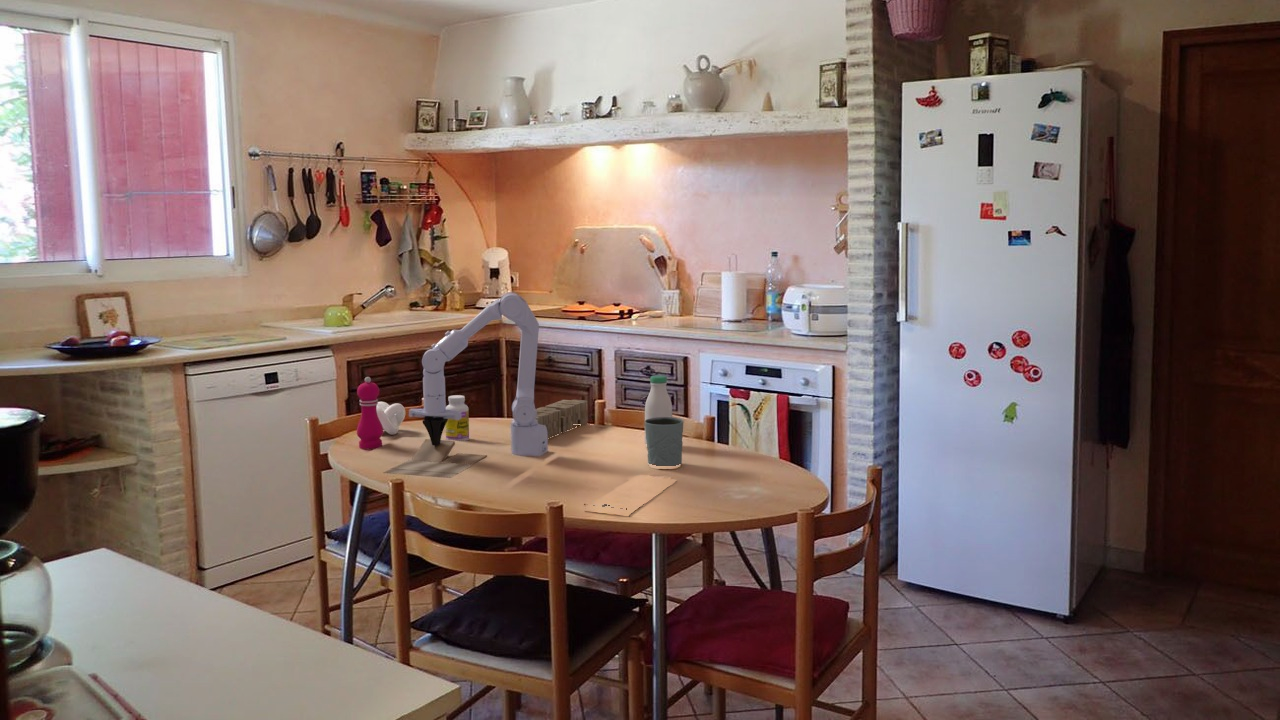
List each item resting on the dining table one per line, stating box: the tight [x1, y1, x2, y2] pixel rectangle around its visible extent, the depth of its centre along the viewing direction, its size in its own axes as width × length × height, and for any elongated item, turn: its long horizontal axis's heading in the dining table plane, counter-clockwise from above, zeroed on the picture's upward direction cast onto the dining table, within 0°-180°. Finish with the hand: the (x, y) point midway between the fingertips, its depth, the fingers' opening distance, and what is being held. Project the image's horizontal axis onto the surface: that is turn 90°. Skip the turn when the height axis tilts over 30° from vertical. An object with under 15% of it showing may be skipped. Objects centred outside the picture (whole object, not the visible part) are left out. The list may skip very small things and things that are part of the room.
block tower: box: [535, 399, 588, 438], centre depth 307 cm, size 8×8×29 cm
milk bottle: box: [644, 374, 673, 445], centre depth 287 cm, size 8×8×20 cm
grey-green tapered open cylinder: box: [644, 416, 684, 466], centre depth 267 cm, size 10×10×12 cm
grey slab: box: [383, 459, 474, 479], centre depth 262 cm, size 18×13×1 cm
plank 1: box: [411, 438, 456, 463], centre depth 273 cm, size 8×9×1 cm
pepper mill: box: [356, 376, 384, 450], centre depth 288 cm, size 7×7×20 cm
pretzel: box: [376, 401, 406, 436], centre depth 307 cm, size 11×12×9 cm
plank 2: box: [441, 452, 488, 465], centre depth 271 cm, size 8×9×1 cm
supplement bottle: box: [445, 394, 470, 442], centre depth 296 cm, size 7×7×13 cm
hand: (435, 444), depth 275 cm, fingers closed, pressing on plank 1
